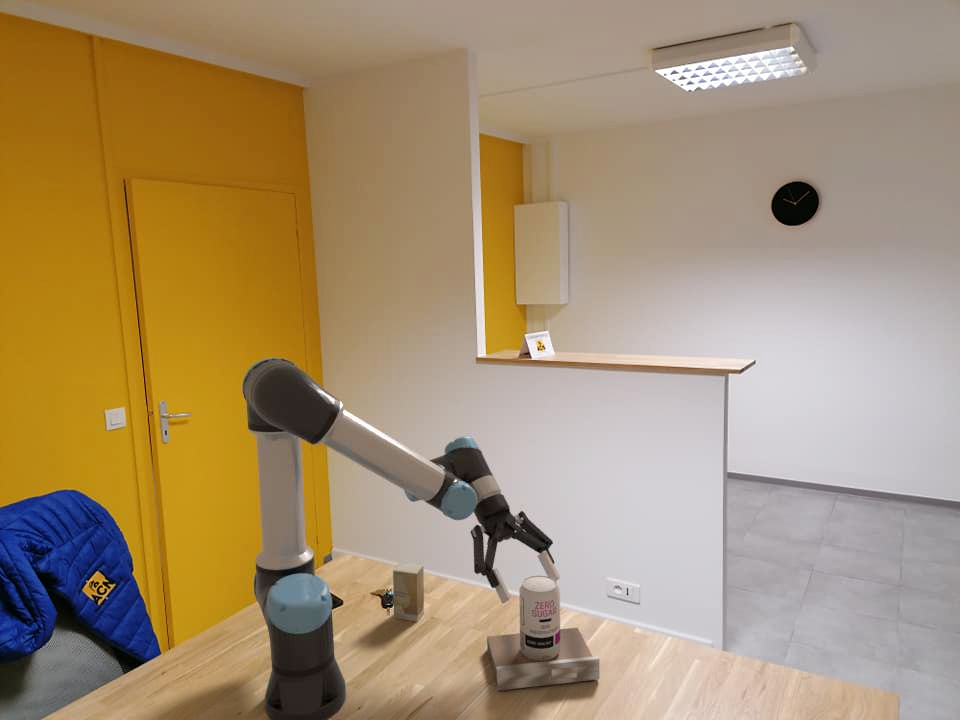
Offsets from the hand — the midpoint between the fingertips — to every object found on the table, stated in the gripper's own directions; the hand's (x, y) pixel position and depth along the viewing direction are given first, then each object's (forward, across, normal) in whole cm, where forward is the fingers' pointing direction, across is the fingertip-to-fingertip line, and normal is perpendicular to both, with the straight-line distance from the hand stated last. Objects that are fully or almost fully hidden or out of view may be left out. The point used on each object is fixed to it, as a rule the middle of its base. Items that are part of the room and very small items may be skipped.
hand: (532, 590), depth 145 cm
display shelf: (+13, 0, -8) cm, 15 cm away
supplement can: (+11, +1, -6) cm, 13 cm away
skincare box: (-11, +11, -33) cm, 36 cm away
